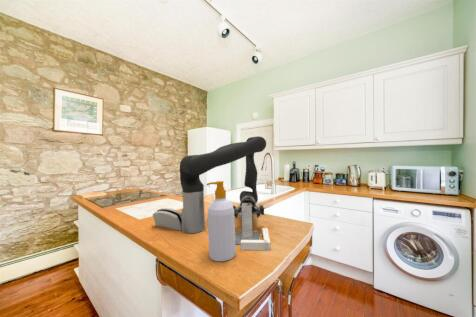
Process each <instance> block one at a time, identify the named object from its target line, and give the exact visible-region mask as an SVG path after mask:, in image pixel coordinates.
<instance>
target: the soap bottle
mask: <svg viewBox="0 0 476 317" xmlns="http://www.w3.org/2000/svg"><path fill="white" fill-rule="evenodd" d="M209 185H216V188H215V190H214V197H215V198H214V200H212V201H211V203H210V204H209V206H208V209H207V228H208V229H207V230H208V256H209V258H210V259H211V260H212V261H213V262H227V261H229V260H232V259H233V258H234V257H235V256H236V253H237V252H236V250H237V249H236V245H235V240H236V226H235V222H236V221H235V219H236V218H235V217H234V208H233V206H234V205H233V204H232V203H231V201H230V200H228V199H227V192H226V189H225V187H224V180H218V181H211V182H208V183H206V186H209Z"/></svg>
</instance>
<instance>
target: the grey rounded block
mask: <svg viewBox="0 0 476 317" xmlns="http://www.w3.org/2000/svg"><path fill="white" fill-rule="evenodd" d="M152 217H153V220H154V224H155V226H156V227H161V228H166V229H171V230H176V231H181V232H182V216H181V212H180V211H179V210H177V209H173V208H169V207H163V208H160V209H157V210H156V211H154V213H152Z"/></svg>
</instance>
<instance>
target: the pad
mask: <svg viewBox="0 0 476 317" xmlns="http://www.w3.org/2000/svg"><path fill="white" fill-rule="evenodd" d="M241 240H242V231H237V232H236V234H235V246H241ZM253 240H260V233H259V231H253Z"/></svg>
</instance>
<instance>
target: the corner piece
mask: <svg viewBox="0 0 476 317" xmlns="http://www.w3.org/2000/svg"><path fill="white" fill-rule="evenodd" d="M261 232H262V238H263V239H259V240H241V245H240V250H241V251H271V250H272V249H271V247H272V246H271V239H270V234H269V230H268V228H266V227H262V231H261Z"/></svg>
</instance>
